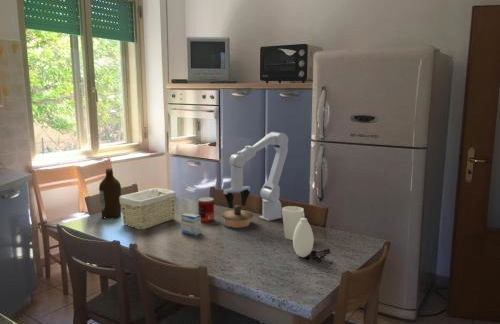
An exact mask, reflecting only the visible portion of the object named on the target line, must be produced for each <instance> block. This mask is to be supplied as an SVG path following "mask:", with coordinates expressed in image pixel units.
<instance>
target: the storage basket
mask: <svg viewBox="0 0 500 324" xmlns="http://www.w3.org/2000/svg"><path fill="white" fill-rule="evenodd" d="M119 199H120V205H121V216H122V221H123V225H124V226H126V225H128V226H127V227H130V226H131V228H133V227H135V228H134V229H138V230H146V228H147V229H149V228H152V227H156V226H157V225H161V224H163V223H166V222H169V221H172V220H175V218H176V202H177V201H176V200H177V193H176V191H174V190H171V189H165V188H161V187H160V188H158V187H153V188H148V189H144V190H140V191H136V192H132V193H127V194H124V195H123V194H121V196H120V197H119Z"/></svg>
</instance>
